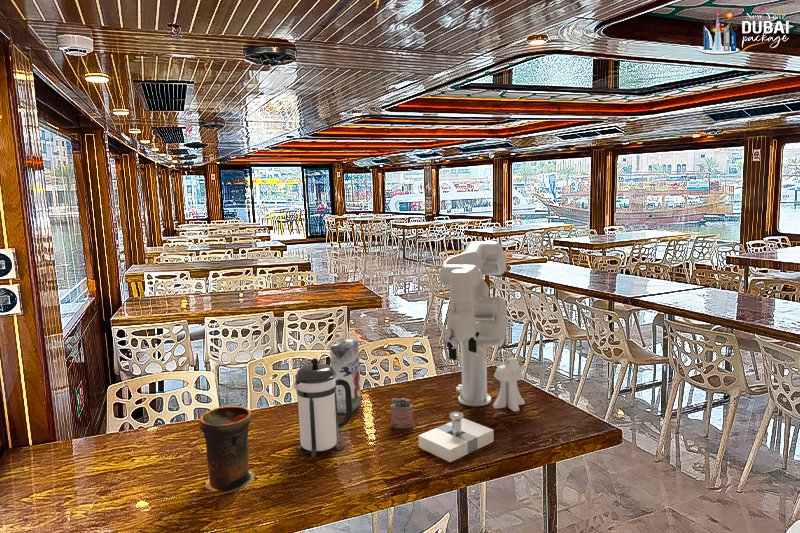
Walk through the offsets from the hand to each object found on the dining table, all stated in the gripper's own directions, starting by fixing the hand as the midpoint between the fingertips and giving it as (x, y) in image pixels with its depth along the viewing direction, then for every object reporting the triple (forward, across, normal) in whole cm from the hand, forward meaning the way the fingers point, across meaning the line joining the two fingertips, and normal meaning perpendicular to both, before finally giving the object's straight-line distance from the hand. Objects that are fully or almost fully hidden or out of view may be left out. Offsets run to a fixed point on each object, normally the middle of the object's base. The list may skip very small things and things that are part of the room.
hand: (462, 355), depth 193 cm
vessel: (+23, +76, -22) cm, 82 cm away
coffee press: (+24, +45, -21) cm, 55 cm away
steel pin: (+25, +12, +8) cm, 29 cm away
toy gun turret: (+27, -24, -1) cm, 36 cm away
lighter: (+25, +16, -15) cm, 33 cm away
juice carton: (+26, +21, -41) cm, 53 cm away
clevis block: (+24, +13, +8) cm, 29 cm away
